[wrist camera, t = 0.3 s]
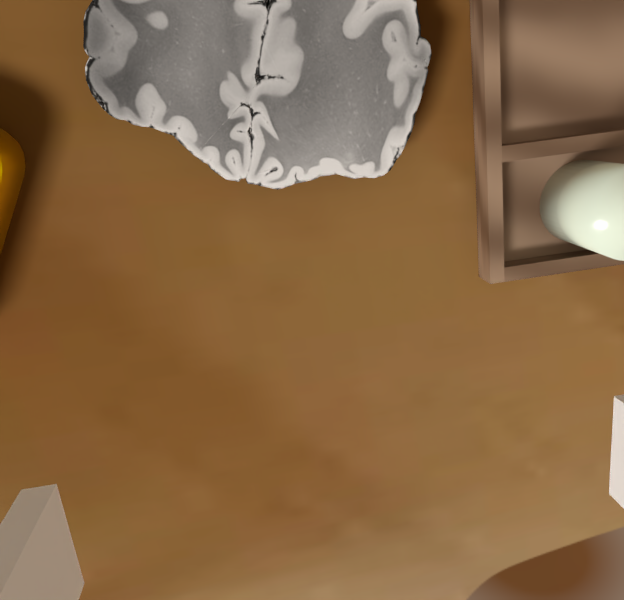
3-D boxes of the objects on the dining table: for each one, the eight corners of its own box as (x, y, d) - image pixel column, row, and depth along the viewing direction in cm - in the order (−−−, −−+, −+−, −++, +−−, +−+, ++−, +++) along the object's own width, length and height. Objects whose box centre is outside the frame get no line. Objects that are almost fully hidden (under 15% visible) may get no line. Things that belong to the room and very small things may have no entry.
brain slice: (448, -74, 36) (465, -91, 33) (385, 205, 40) (395, 211, 37) (113, -164, 32) (101, -192, 30) (85, 149, 37) (72, 151, 34)
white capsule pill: (539, 165, 39) (589, 172, 34) (618, 154, 40) (681, 160, 34) (539, 246, 41) (587, 266, 35) (615, 235, 42) (675, 253, 36)
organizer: (467, -76, 35) (480, -87, 33) (686, -98, 36) (711, -111, 34) (478, 276, 42) (490, 283, 40) (664, 249, 43) (684, 255, 41)
